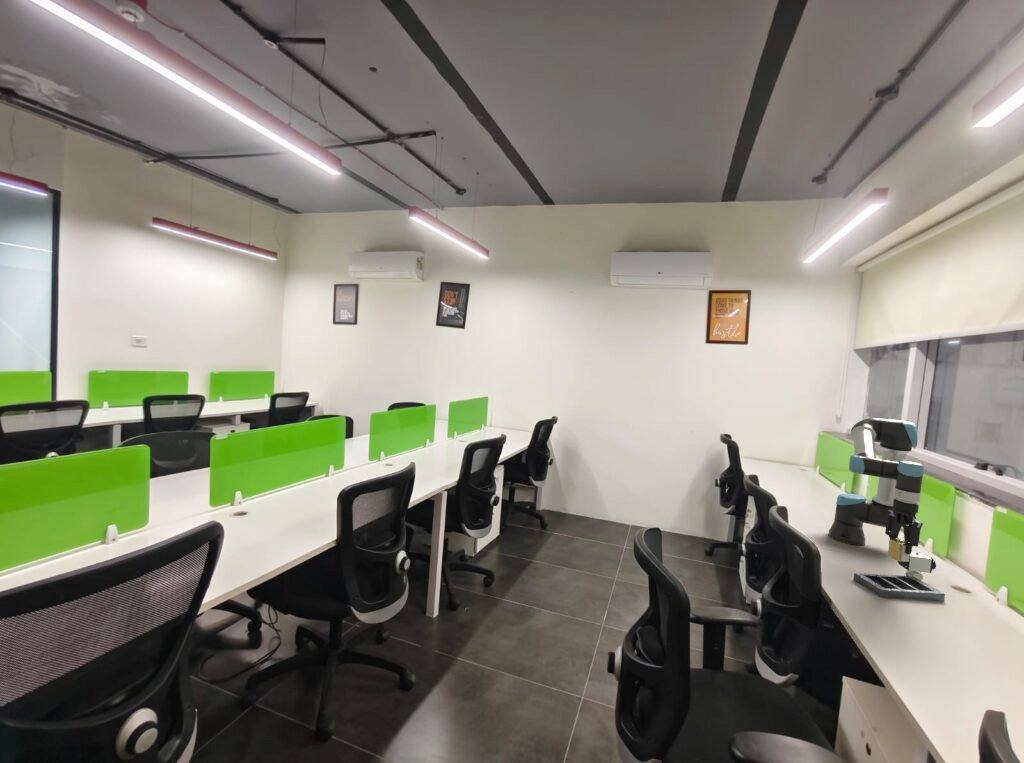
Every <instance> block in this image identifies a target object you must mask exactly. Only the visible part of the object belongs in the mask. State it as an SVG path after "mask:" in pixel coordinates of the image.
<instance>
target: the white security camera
mask: <svg viewBox="0 0 1024 763" xmlns="http://www.w3.org/2000/svg"><path fill="white" fill-rule="evenodd" d="M896 562H897V563H898V565H899V566H901V567H902V568H904V569H905V570H906V571H905V574H904V576H913V577H915V578H917V579H919V580H921V581H923V580H924V575H923V574H922V573H925V574H926V573H928V574H932V572H933V570H936V567H937V563H936V561H935V560H934V558H932V557H931V556H929V555H928V554H926V553H919V551H915V552H914V551H912V552H911V554H910V557H909V562H904V561H897V560H896Z"/></svg>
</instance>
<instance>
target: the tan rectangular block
mask: <svg viewBox="0 0 1024 763" xmlns="http://www.w3.org/2000/svg"><path fill="white" fill-rule="evenodd" d="M889 540H890V543H889V542H888V545H889V546H888V549H887V550H888V551H887V557H889V558H891V559H893V560H894V561H896V562H897V561H901V560H900V559H901V552H902V544H905V541H904V539H900V538H899V539H890V538H889ZM904 562H906V561H904Z"/></svg>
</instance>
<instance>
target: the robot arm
mask: <svg viewBox="0 0 1024 763" xmlns="http://www.w3.org/2000/svg"><path fill="white" fill-rule="evenodd" d="M850 437H851V439H852V440H853V449H854V452H853V454H854V455H850V456H849V461H848V463H849V464H848V470H849V471H850V472H851V473H855V474H858V475H866V476H871V477H872V476H873V477H878V484H877V490H876V495H874V496H872V498H871V500H868V499H867V497H866V496H865V495H861V494H856V493H841V494H839V495H837V497H836V502H835V504H836V505H835V514H834V519H833V523H832V524H831V527H830V528H829V529H828V534H827V535H828V536H829V537H830V538H832V539H834V540H835V541H839V542H841V543H844V544H848V545H852V546H853V545H855V546H864V545H866V537H865V533H864V527H863V526H864V524H866V525H867V524H868V525H872V526H876V527H881V528H885V535H886V536H888V538H889V542H888V544H889V543H890V539H900V538H899V535H900V532H901V529H902V528H903V537H904V539H903V540H904V541H905V544H902V552H901V559H900V560H901V561H906V562H909V557H910V554H911V552H913V551H912V550H913V547H917V548H918V547H919V543H920V537H921V536H920V535H921V529H922V527H923V526H924V524H923V522H922V521H921V522H920V521H918V519H917V517H916V515H917V514H918V513H919V507H920V504H919V503H920V500H921V493H922V484H923V477H924V470H925V469H924V465H923V464H921V463H918V462H915V461H908V460H907V455H908V453H910V452H912V449H913V448H917V446H918V429H917V426H916V424H915V423H913V422H912V421H905V420H898V419H887V418H877V417H870V418H869V417H868V418H866V419H865V418H863V419H862V420H859V421H858V422H855V424H854V425H853V426H852V428H851V430H850ZM875 442H876V443H879V447H881V449H882V456H881V459H880V458H877V453H876V444H875Z"/></svg>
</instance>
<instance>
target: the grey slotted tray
mask: <svg viewBox="0 0 1024 763" xmlns="http://www.w3.org/2000/svg"><path fill="white" fill-rule="evenodd" d="M853 581H855V582H856V583H858V584H860V585H861V586H862V587H864V588H865V589H867V590H868V591H870V592H872V593H873V594H874V595H876V596H877V595H878V597H879V598H881V597H882V598H883V599H898V600H899V599H900V600H901V599H902V600H916V601H932V602H945V597H946V594H945V593H944V592H942V591H940V590H938V589H937V588H935V587H933V586H932V585H929V584H928V583H926V582H924V581H923V580H919V579H917V578H915V577H913V576H906V575H896V574H895V575H893V574H879V573H878V574H877V573H863V572H854V574H853Z"/></svg>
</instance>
